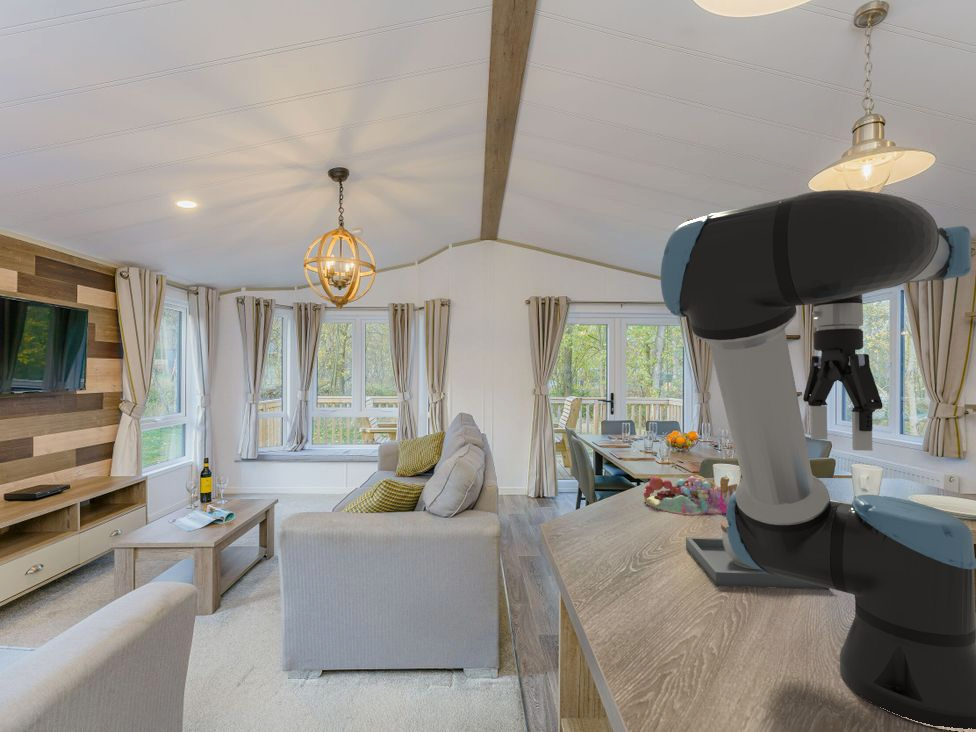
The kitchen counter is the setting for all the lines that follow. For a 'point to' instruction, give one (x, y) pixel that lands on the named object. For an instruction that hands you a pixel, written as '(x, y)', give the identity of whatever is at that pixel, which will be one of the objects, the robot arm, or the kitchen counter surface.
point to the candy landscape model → (690, 495)
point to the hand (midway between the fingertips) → (839, 444)
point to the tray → (735, 567)
